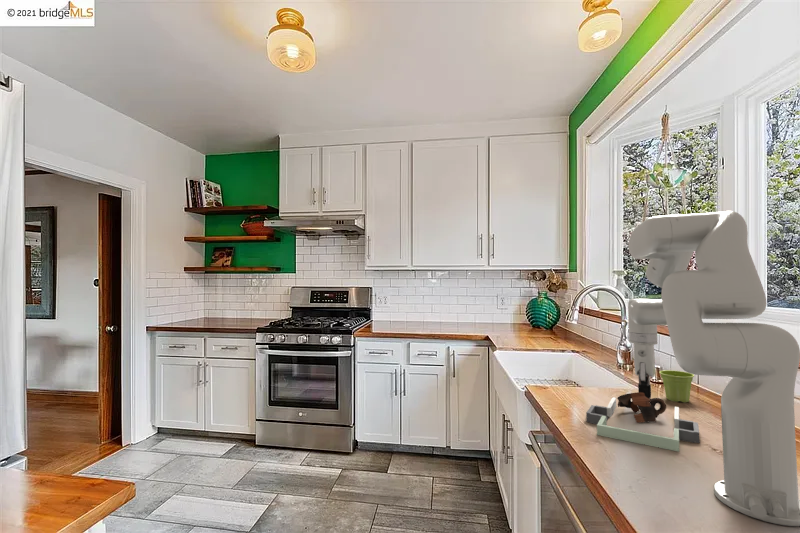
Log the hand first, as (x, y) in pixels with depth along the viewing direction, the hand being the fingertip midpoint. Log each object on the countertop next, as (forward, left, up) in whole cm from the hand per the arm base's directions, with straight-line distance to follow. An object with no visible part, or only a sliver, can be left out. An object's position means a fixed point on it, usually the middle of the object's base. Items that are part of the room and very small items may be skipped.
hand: (644, 396), depth 120 cm
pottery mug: (-12, 0, -3) cm, 12 cm away
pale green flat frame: (-18, 0, -3) cm, 18 cm away
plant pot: (+14, -8, -3) cm, 16 cm away
